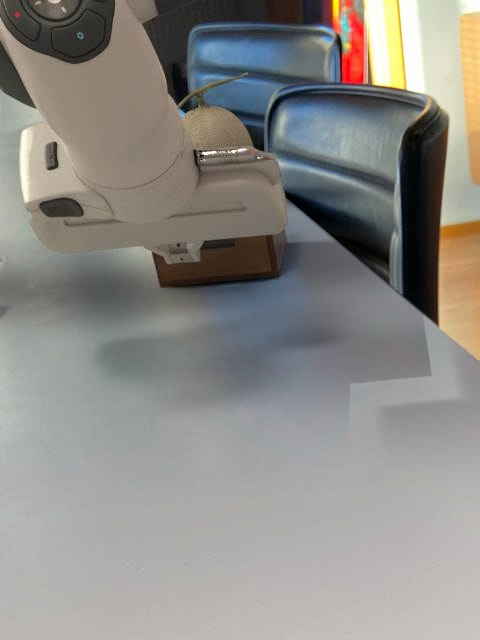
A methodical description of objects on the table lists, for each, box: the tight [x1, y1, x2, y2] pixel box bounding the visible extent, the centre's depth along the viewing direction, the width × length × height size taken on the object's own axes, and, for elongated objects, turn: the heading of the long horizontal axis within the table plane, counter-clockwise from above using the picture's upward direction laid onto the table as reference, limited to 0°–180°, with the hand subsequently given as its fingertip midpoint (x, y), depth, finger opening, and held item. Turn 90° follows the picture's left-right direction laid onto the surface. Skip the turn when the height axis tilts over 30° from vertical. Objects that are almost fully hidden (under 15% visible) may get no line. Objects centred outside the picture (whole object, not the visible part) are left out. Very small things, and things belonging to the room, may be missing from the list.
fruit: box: [176, 72, 254, 150], centre depth 132 cm, size 10×12×15 cm
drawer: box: [155, 235, 272, 281], centre depth 107 cm, size 17×11×8 cm
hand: (183, 255), depth 90 cm, fingers closed
